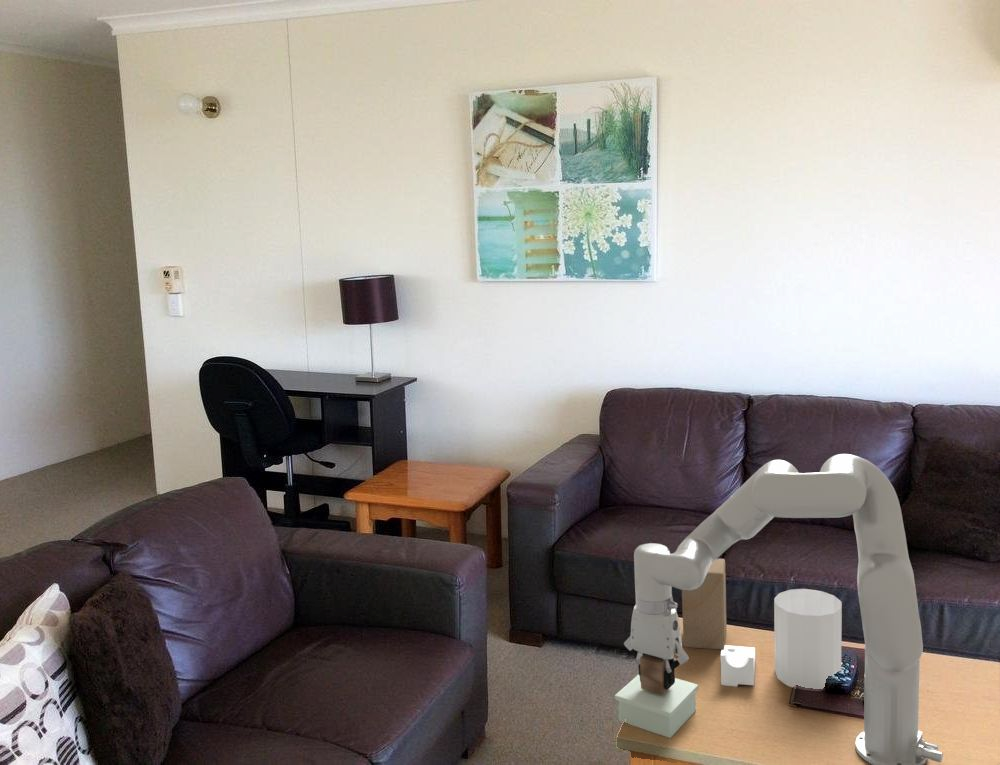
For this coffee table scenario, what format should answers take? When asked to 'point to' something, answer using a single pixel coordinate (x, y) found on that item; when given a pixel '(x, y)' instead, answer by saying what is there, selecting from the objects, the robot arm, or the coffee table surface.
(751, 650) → the bracket
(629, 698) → the sage box
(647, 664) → the walnut block
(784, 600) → the container
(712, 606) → the wooden block
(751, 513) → the robot arm
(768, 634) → the coffee table surface
